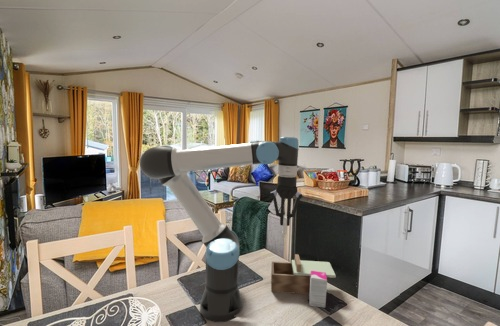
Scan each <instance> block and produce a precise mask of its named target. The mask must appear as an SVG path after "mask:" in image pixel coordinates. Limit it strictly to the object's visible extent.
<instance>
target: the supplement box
mask: <svg viewBox="0 0 500 326" xmlns="http://www.w3.org/2000/svg"><path fill="white" fill-rule="evenodd" d="M327 285H328V277H327V276H326V273H324V272H317V271H311V276H310V290H309V294H308V304H309V306H312V307H318V308H319V307H320V308H326V303H327V289H328V286H327Z"/></svg>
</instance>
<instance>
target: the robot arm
mask: <svg viewBox="0 0 500 326" xmlns="http://www.w3.org/2000/svg"><path fill="white" fill-rule="evenodd" d="M298 157H299V139H298V137H294V136H292V137H291V136H281V137H279V140H278V141H270V140H251V141H249V142H248V143H247V142H246V143H238V144H230V145H220V146H219V145H218V146H209V147H200V148H191V149H180V150H179V149H177V148H175V147H174V146H170V145H161V146H160V145H159V146H153V147H150V148H148V149H146V150H145V151H144V152H143V153H142V154H141V156H140V159H139V167H140V170H141V172H142V173H143V175H145V176H146V177H147V178H150V179H152V180H158V182H159V183H160V184H161V186H163V187H167V188H169V190H170V191H171V192H172V194H173V195H174V197H175V198H176V200H177V201H178V203H180V206H181V207H182V208H183V210H184V211H185V212H186V214H187V215H188V217H189V218H190V220H191V221H192V223H193V224H194V225H195V227H196V228H197V230H198V231H199V232H200V234H201V235H202V239H201V241H202V242H201V243H202V244H203V245H204V247H206V248H205V254H204V258H205V287H204V290H203V293H202V296H201V299H200V304H199V305H200V308H199V311H200V314H201V315H202V317H204V318H205V319H206V320H209V321H211V322H212V321H213V322H217V323H218V322H228V321H230V320H234V319H235V318H236V315H238V314H239V313H240V312H241V311H242V309H243V302H244V301H243V298H242V295H241V291H240V289H239V265H240V264H239V263H240V262H239V260H240V259H239V258H240V240H239V237H238V235H237V234H236V232H235V231H234V230H232V229H230V227H229V225H228V224H226V223H225V222H224V223H223V222H221V221H220V219H219V218H218V217H217V215H216V214H215V213H214V211H213V210H212V208H211V207H210V206H209V204H208V203H207V201H206V200H205V198H204V197H203V195H202V194H201V192H200V191H199V190H198V188H197V186H196V185H195V184H194V182H193V181H192V179H191V178H190V177H189V175H188V172H196V171H206V170H216V169H223V168H232V167H241V166H242V167H243V166H249V165H250V166H251V165H262V164H263V165H271V164H274V163H275V162H276V161H277V163H278V167H277V174H278V176H277V185H276V188H275V190H273V191H270V196H271V197H272V201H273V206H274V210H275V215H276V216H277V217H279V225H280V226H282V227H281V228H282V231H281V233H282V235H287V227H288V226H290V222H291V218H295V216H296V213H297V211H298V207H299V203H300V200H301V199H302V198H303V194H302V193H301V192H299V191H298V189H297V180H298V178H297V175H298V160H299V159H298ZM277 195H278V196H279V198H280V212H279V206H278V205H279V204H278V201H277ZM294 196H295V197H296V198H295V201H294V204H293V206H292V210H291V205H292V199H293V198H294ZM285 200H287V202H286V204H287V205H286V216H284V215H285Z"/></svg>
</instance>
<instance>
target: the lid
mask: <svg viewBox="0 0 500 326" xmlns="http://www.w3.org/2000/svg"><path fill="white" fill-rule="evenodd" d="M291 263H292V268H293V273H294V275H299V276H311V271H317V272H324V273H326V276H327V278H331V279H333V278H335V279H336V277H337V275H336V273H335V271H334V269H333V267H332V264H331V263H330V261H321V260H320V261H319V260H318V261H315V260H301V259H300V255H299V254H298V253H297V254H296V253H295V254H294V259H291Z"/></svg>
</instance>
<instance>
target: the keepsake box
mask: <svg viewBox="0 0 500 326" xmlns="http://www.w3.org/2000/svg"><path fill="white" fill-rule="evenodd" d="M270 276H271V279H270V283H271V285H270V287H271V288H270V289H271V290H270V291H271V292H272V293H286V294H287V293H288V294H303V295H305V294H306V295H309V290H310V276H299V275H294V273H293V268H292V262H284V261H271V273H270Z"/></svg>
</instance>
